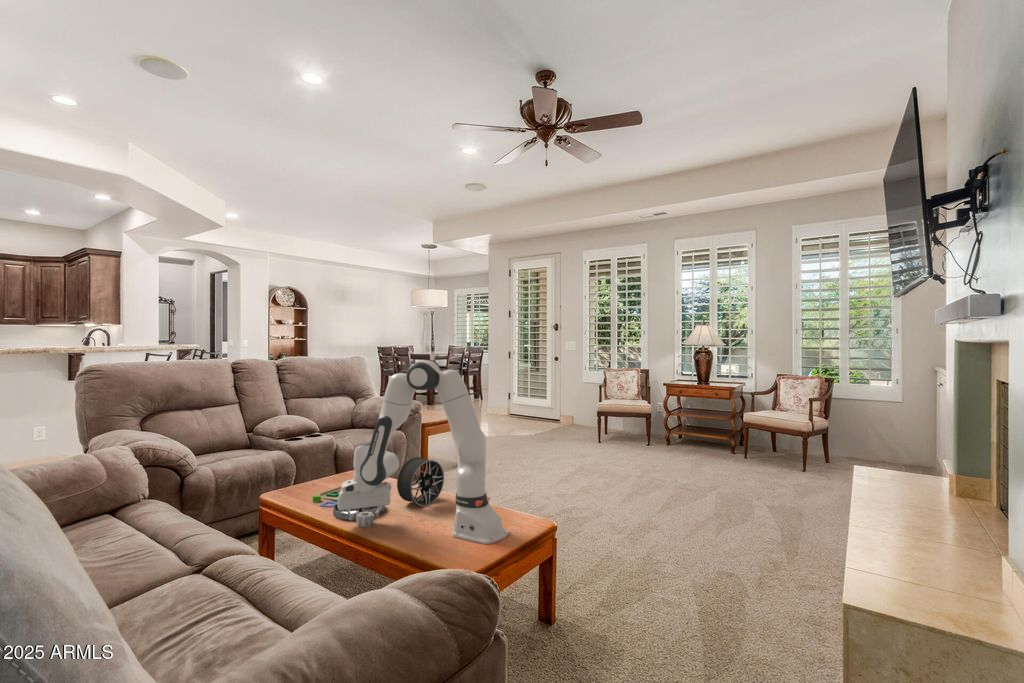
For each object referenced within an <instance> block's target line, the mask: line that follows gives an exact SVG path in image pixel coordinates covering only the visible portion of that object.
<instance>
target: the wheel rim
mask: <svg viewBox="0 0 1024 683" xmlns="http://www.w3.org/2000/svg"><path fill="white" fill-rule="evenodd" d="M423 466H424V467H423ZM421 467H423V470H420V468H421ZM417 472H420V473H421V474H420V477H419V478H418V476H417V475H418V474H417ZM414 477H415V479H416V481H415V482H414V483H413V480H414ZM444 484H445V473H444V469H443V466H442V465H441V464H440V463H439V462H438V461H436V460H434V459H424V458H422V457H419V456H415V457H412V458H409V459H408V460H407V461H406V462H404V464H403V465H402V467H401V468H400V471H399V472H398V476H397V480H396V488H397V492H398V495H399V496H400V498H401V499H402V500H404V501H406V502H413V503H414V504H416V505H418V506H420V507H426V506H430V505H431V504H433V503H434V502H435V501H436V500H437V499H438V498H439V497H440V495H441V493H442V490H443V488H444ZM413 486H416V487H413ZM413 491H416V493H415V496H414V493H413ZM419 491H420V493H421V494H420V495H418V493H419Z"/></svg>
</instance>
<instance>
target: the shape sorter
mask: <svg viewBox="0 0 1024 683" xmlns="http://www.w3.org/2000/svg"><path fill="white" fill-rule="evenodd" d="M341 490H342V489H341V485H339V486H338V487H335V488H332V489H329V490H326V491H323V492H321V493H319V494H317V495H314V496H312V502H313V503H321V504H320V505H319V507H322V508H333V506H334V505H335V504H337V503H338V496H339V492H340V491H341ZM322 499H324V500H326V501H325V502H323V503H322ZM329 504H330V505H329Z"/></svg>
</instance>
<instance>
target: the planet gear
mask: <svg viewBox="0 0 1024 683" xmlns="http://www.w3.org/2000/svg"><path fill="white" fill-rule="evenodd" d="M374 519H375V517H374V514H373V512H368V511H365V512H360V513H359V514H357V515H356V522H355V525H357V526H356V527H357V528H360V527H361V528H362V527H363V528H366V527H371V526H373V525H374V523H375V522H374V521H375V520H374ZM359 526H360V527H359Z"/></svg>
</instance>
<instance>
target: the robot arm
mask: <svg viewBox="0 0 1024 683" xmlns="http://www.w3.org/2000/svg"><path fill="white" fill-rule="evenodd" d="M467 388H468V387H467V386H466V383H465V380H464V379H463V378H462V376H461V374H460V373H459V371H457V370H455V369H446V370H442V368H441V366H440V365H439V363H438V362H436V361H434V360H431V359H422V360H419V361H416V362H415V363H413V364H411V365H410V366H409V367H408V369H407V371H406V373H403V372H398V373H394V374H392V375H391V376H390V378H389V381H388V382H387V385H386V388H385V393H384V395H383V400H382V405H381V409H380V413H379V415H378V419H377V422H376V424H375V426H374V430H373V433H372V437H371V440H370V442H365V443H360V444H359V445H357V446H356V447H355V448H354V454H353V469H354V470H353V471H354V472H353V478H352V479H349V480H345V481H343V482H341V485H340V486H341V489H342V490H341V491H340V492H339V496H338V501H337V502H338V504H337V507H338V509H339V510H347V513H348V514H349V516H350V520H354V515H353V514H351V513H350V512H351V509H357V508H367V507H376V506H377V508H378V509H377V511H376V512H374V518H379V516H378V513H379V512H380V510H381V506H385V507H386V506H389V505H390V504H391V491H392V485H391V483H390V482H388V481H385V480H387V479H389V478H390V477H392V476H394V475H395V474H396V473H398V471H399V469H400V464H401V463H400V459H399V457H398V455H397V454H396V453H395V452H391V451H388V450H387V449H388V445H389V442H390V439H391V437H392V435H393V434H394V432H395V431H396V430H397V429H398V428H399V427H401V425H403V424H404V423H405V422H407V420H408V418H409V415H410V413H411V410H412V405H413V401H414V395H415V393H416V391H434V390H435V391H436V392H437V394H438V396H439V400H440V402H441V404H442V407H443V410H444V413H445V416H446V418H447V422H448V425H449V428H450V429H449V430H450V432H451V436H452V437H451V438H452V439H453V443H454V446H455V448H456V452H457V466H456V467H457V468H456V469H457V470H456V493H455V506H456V507H455V513H454V521H453V525H452V529H451V531H452V537H454V538H457V539H463V540H465V541H466V540H467V541H470V542H475V543H480V544H485V545H488V544H493V543H496V542H499V541H500V540H503V539H504V538H506V537H507V536H508V535H509V530H508V529H506V528H504V527H503V519H502V518H501V516H500V514H499V513H498V512H497V511H496V510H495V509H494V508H493V507H492V506H491V505H490V502H489V501H491V496H489V497H488V496H487V495H488V494H487V493H486V492H487V491H486V460H487V459H486V452H487V450H486V446H487V442H486V434H484V431H483V430H482V429H481V427H480V423H479V420H478V416H477V413H476V411H475V407H474V405H473V402H472V399H471V396H470V393H469V390H468V389H467Z"/></svg>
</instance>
